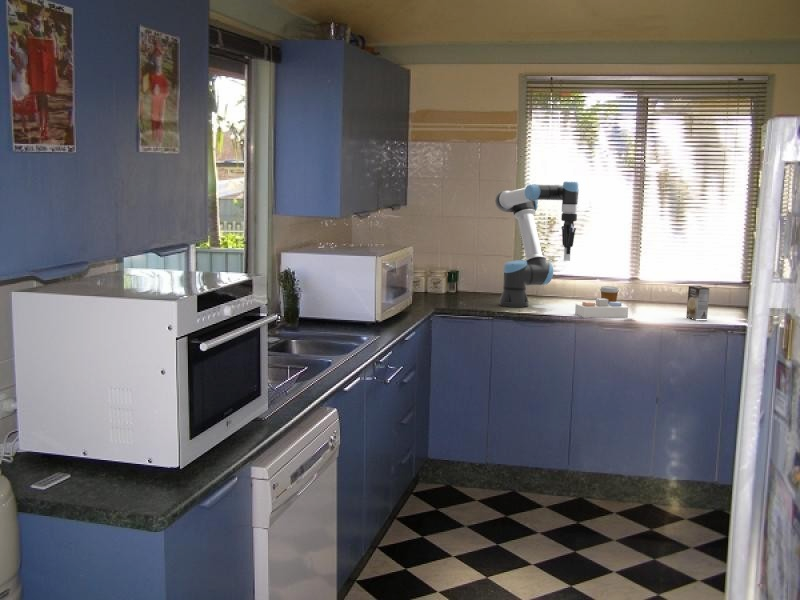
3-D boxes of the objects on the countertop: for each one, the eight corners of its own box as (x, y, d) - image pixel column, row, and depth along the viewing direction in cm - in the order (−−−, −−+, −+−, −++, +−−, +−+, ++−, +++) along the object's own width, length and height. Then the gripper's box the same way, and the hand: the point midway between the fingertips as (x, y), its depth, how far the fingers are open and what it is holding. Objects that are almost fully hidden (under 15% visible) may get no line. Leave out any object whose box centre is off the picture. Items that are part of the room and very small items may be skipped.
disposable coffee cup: (618, 312, 465) (619, 289, 463) (598, 311, 467) (600, 288, 465) (617, 309, 474) (618, 286, 473) (598, 308, 476) (600, 285, 474)
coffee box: (685, 317, 454) (687, 285, 452) (696, 317, 456) (699, 285, 453) (696, 320, 445) (698, 288, 443) (707, 320, 447) (710, 288, 445)
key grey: (595, 310, 454) (595, 298, 453) (603, 310, 455) (604, 298, 454) (599, 311, 450) (599, 299, 449) (607, 311, 451) (608, 299, 450)
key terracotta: (581, 313, 453) (582, 301, 452) (590, 313, 454) (591, 301, 453) (585, 315, 449) (586, 303, 448) (594, 315, 450) (594, 303, 449)
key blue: (608, 313, 456) (608, 301, 455) (616, 313, 457) (617, 301, 456) (612, 315, 452) (612, 303, 451) (620, 314, 452) (621, 302, 452)
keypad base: (575, 313, 456) (575, 304, 455) (617, 313, 461) (618, 303, 460) (583, 317, 445) (584, 307, 444) (627, 317, 450) (628, 307, 449)
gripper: (581, 213, 446) (579, 261, 449) (571, 212, 458) (568, 259, 462) (567, 213, 444) (564, 261, 447) (557, 212, 457) (554, 259, 460)
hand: (566, 260), depth 455 cm, fingers closed
